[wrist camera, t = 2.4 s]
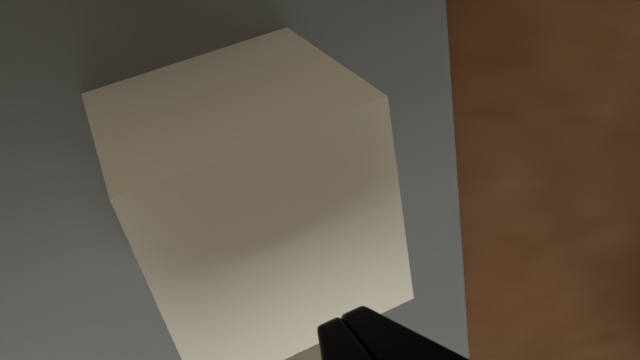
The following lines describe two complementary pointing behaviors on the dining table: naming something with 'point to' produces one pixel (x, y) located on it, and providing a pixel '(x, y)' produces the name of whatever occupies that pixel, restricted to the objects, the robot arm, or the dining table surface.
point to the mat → (90, 189)
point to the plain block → (255, 194)
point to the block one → (307, 354)
